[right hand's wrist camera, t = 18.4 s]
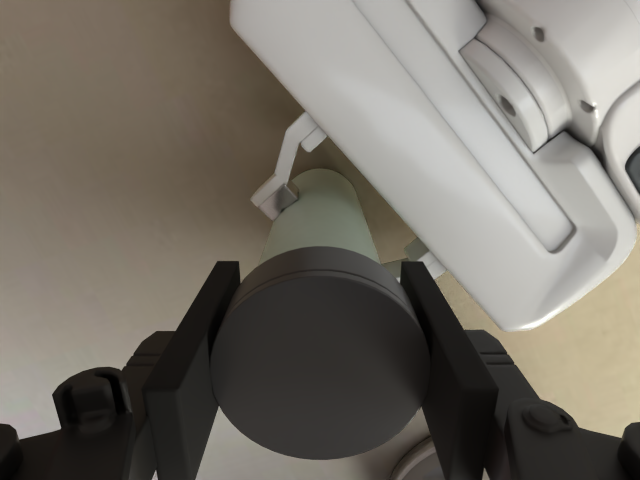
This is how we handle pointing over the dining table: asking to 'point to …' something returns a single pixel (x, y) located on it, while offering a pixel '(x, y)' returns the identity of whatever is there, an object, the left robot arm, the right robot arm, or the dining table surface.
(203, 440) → the right robot arm
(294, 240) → the pale green cylinder
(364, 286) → the lid
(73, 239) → the dining table surface
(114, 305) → the dining table surface
